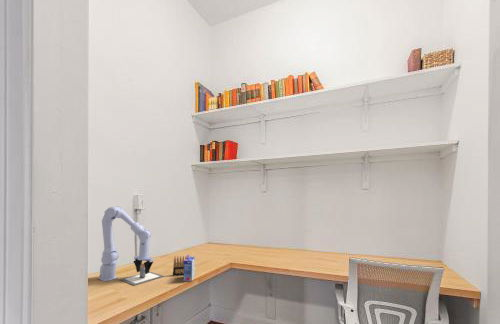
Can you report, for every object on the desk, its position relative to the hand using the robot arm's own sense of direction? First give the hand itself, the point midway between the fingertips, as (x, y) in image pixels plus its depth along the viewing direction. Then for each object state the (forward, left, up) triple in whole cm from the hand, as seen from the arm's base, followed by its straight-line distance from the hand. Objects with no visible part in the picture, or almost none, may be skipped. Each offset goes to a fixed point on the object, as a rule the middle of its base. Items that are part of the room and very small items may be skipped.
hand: (142, 272), depth 155 cm
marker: (0, 0, -3) cm, 3 cm away
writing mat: (0, 0, -3) cm, 3 cm away
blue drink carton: (+24, +17, -4) cm, 30 cm away
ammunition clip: (+14, +19, -4) cm, 24 cm away
